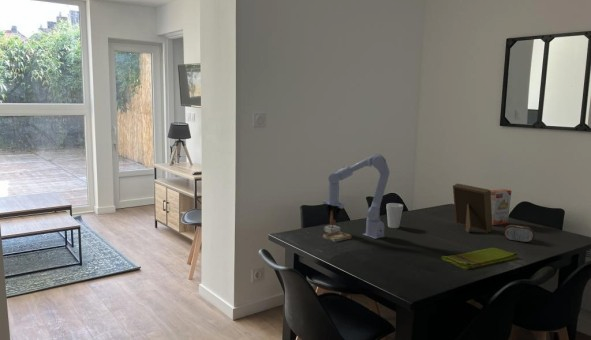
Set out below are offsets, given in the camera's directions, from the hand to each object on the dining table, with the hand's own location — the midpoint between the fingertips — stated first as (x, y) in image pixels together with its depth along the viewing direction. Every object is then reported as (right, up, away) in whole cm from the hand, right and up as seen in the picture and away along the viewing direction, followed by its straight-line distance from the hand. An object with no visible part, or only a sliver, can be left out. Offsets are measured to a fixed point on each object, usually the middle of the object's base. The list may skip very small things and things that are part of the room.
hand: (332, 218), depth 259 cm
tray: (+1, -9, -10) cm, 14 cm away
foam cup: (+37, -7, +16) cm, 41 cm away
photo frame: (+80, -8, +15) cm, 82 cm away
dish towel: (+67, -16, -36) cm, 77 cm away
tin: (+99, -12, -6) cm, 100 cm away
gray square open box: (0, -8, +1) cm, 8 cm away
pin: (0, -3, +1) cm, 3 cm away
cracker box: (+103, -6, +29) cm, 107 cm away
